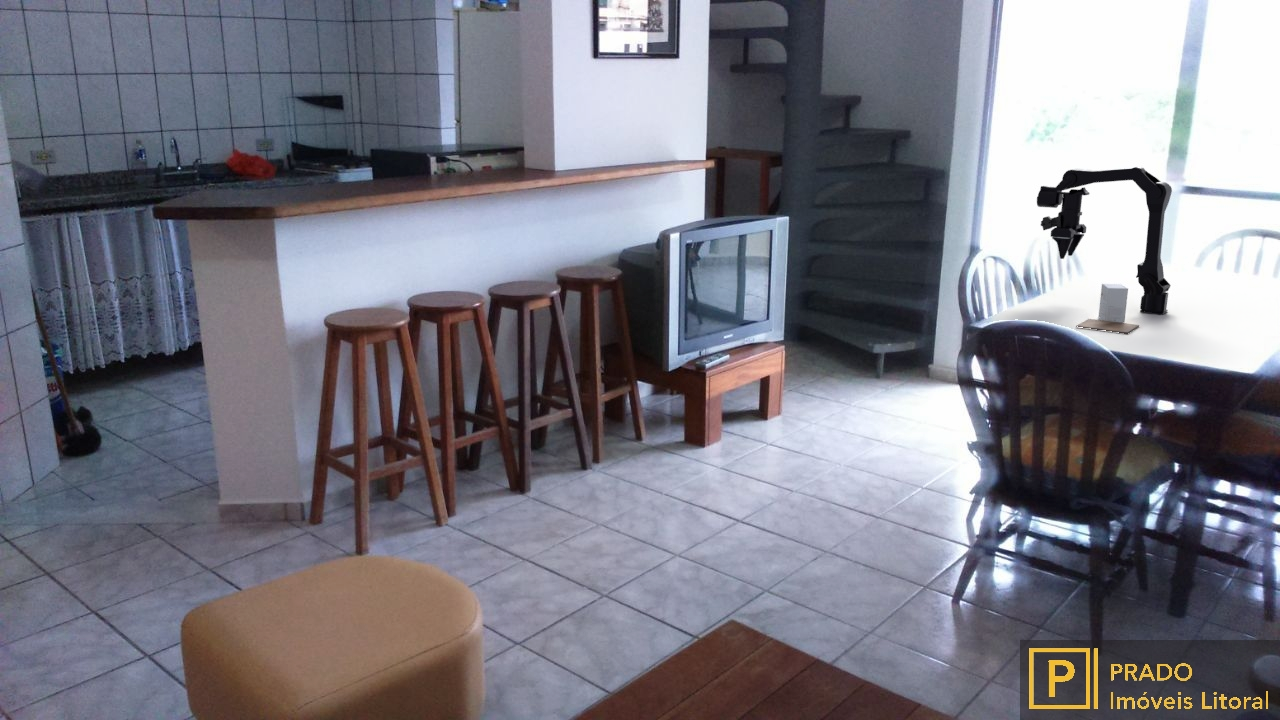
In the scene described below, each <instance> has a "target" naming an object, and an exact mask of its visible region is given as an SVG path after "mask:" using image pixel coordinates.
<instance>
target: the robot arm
mask: <svg viewBox="0 0 1280 720" xmlns="http://www.w3.org/2000/svg"><path fill="white" fill-rule="evenodd" d="M1122 181H1123V182H1124V181H1133V182H1134V183H1135V184H1136V185H1137V186H1138V188H1139V189H1140V190H1142V192H1143V193H1145V199H1146V207H1147V210H1148V220H1147V221H1148V223H1147V234H1146V245H1145V254H1144V255H1145V256H1144V260H1143V261H1142V262H1140V263H1139V264H1137V267H1136V268H1137V272H1136V273H1137V274H1136V276H1135V277H1136V278H1137V281H1138V284H1139V285H1140V286H1141V287H1142V289H1143V295H1142V296H1141V300H1140V306H1139V307H1140V311H1139V312H1140V313H1146V314H1156V315H1164V314H1165V313H1167V312H1168V309H1167V308H1168V307H1167V306H1168V301H1169V300H1168V298H1169V292H1168V291H1169V289H1170V288H1171V284H1170V283H1169V282H1168V280H1167V279H1166V278H1165V276H1164V274H1165V273H1164V266H1163V263H1162V258H1161V256H1162V255H1161V254H1162V245H1163V234H1164V224H1165V223H1164V222H1165V213H1166V210H1167V208H1168V206H1169V203H1170V200H1171V195H1172V192H1173V189H1172V186H1171V185H1170V184H1169V183H1168V182H1165V181H1161V180H1159V179H1158V178H1157V177H1156V176H1154V175H1152V174H1151V173H1150V172H1148V171H1147V170H1146V169H1145V168H1144V167H1142V166H1136V167H1128V168H1126V167H1125V168H1114V169H1101V170H1093V169H1088V168H1087V169H1084V168H1074V169H1068V170H1066V171H1065V173H1063V176H1062V180H1061V181H1060V182H1059V183H1058V184H1057V185H1056V186H1048V185H1041V186H1040V190H1039V191H1038V194H1037V197H1036V205H1037V207H1038V208H1053V209H1054V208H1055V209H1057V208H1058V207H1059V206H1061V209H1060V210H1061V211H1059V212H1058V214H1057V216H1055V217H1052V218H1051V217H1050V215H1048V216H1044V217H1042V221H1040V227H1041V228H1042V230H1043V231H1047V230H1050V237H1051V238H1052V240H1054V241H1055V242H1056V243H1057V244H1056V245H1057V249H1058V254H1059V259H1061V260H1064V259H1065V257H1066V255H1068V256H1070V257H1071V256H1073V255H1074V253H1075V251H1076V249H1077V247H1078V246H1079V244H1080V242H1081V241H1082V239H1083V237H1085V234H1086V233H1087V226H1086V225H1085V224H1084V223H1080V219H1081V216H1082V215H1083V211H1081V210H1082V200H1083V196H1089V195H1090V192H1089V190H1087V188H1086V187H1082V186H1087V185H1091V184H1096V183H1097V184H1098V183H1109V182H1110V183H1111V182H1122ZM1078 187H1081V188H1080V189H1078ZM1074 188H1077V189H1074ZM1066 190H1069V191H1066Z"/></svg>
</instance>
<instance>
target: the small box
mask: <svg viewBox="0 0 1280 720" xmlns="http://www.w3.org/2000/svg"><path fill="white" fill-rule="evenodd" d="M1100 288H1101V289H1100V290H1101V291H1100V297H1099V309H1098V318H1099V317H1100V318H1101V319H1100V318H1099V319H1100V320H1104V321H1112V322H1120V323H1126V320H1125V319H1126V313H1127V302H1128V301H1127V300H1128V293H1129V288H1128V287H1126V286H1125V285H1123V284H1121V283H1102V284H1101V287H1100Z"/></svg>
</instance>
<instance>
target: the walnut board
mask: <svg viewBox="0 0 1280 720" xmlns="http://www.w3.org/2000/svg"><path fill="white" fill-rule="evenodd" d="M1077 326H1078V327H1083V328H1091V329H1097V330H1096V331H1098V330H1106V331H1112V332H1111V333H1113V332H1119V333H1118V334H1120V333H1124V334H1123V335H1129V334H1130V332H1131V333H1132V332H1133V330H1134V331H1135V330H1136V329H1138V328H1140V324H1136V323H1135V324H1134V323H1127V322H1124V323H1120V322H1112V321H1104V320H1102V319H1096V318H1095V319H1094V318H1087V319H1085V320H1084V321H1081V322H1080V323H1079V324H1078V323H1077V325H1076V326H1075V328H1076V327H1077ZM1083 328H1082V329H1083ZM1128 333H1129V334H1128Z"/></svg>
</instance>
